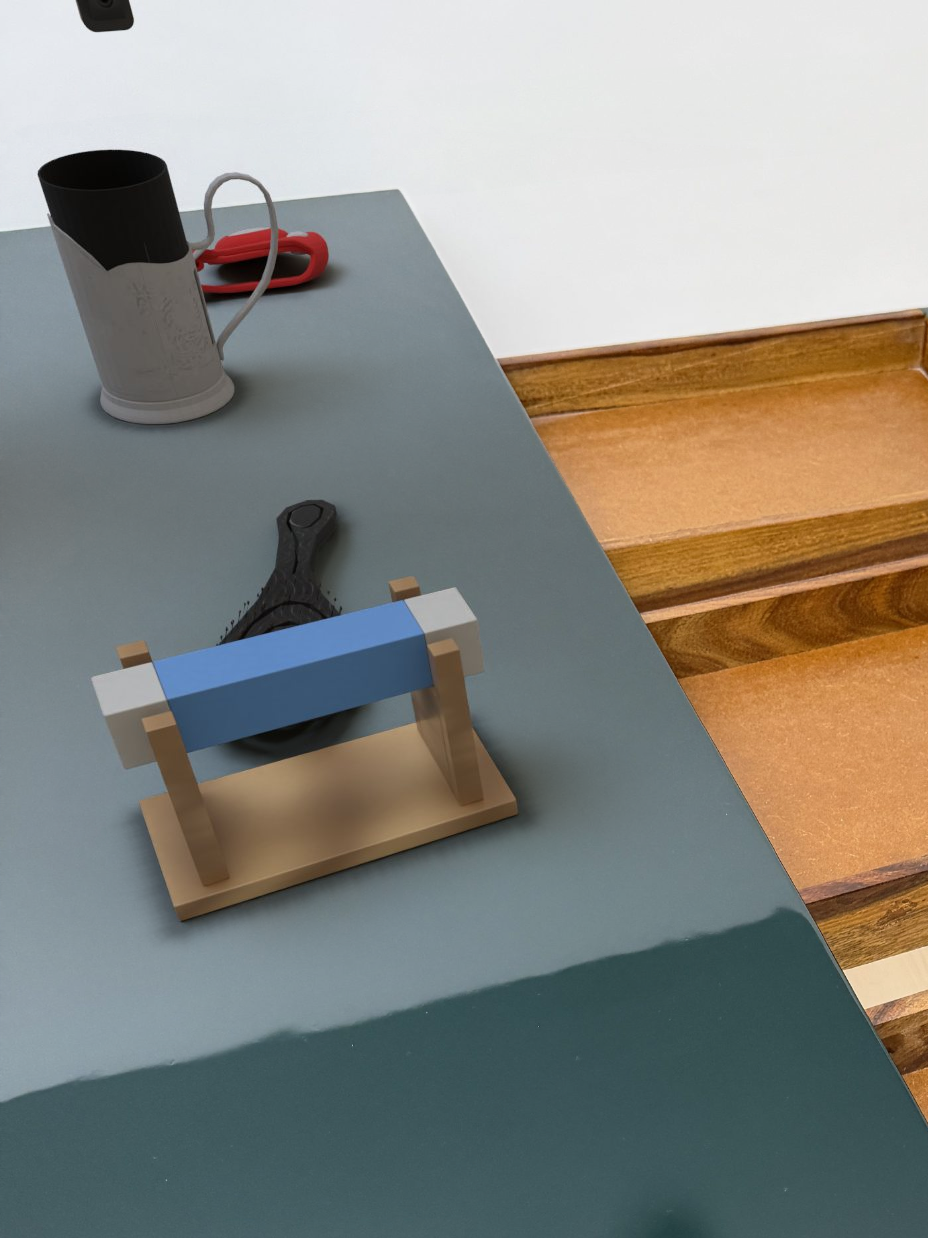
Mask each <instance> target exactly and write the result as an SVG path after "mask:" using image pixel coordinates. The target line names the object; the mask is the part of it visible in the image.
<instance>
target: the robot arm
mask: <svg viewBox="0 0 928 1238" xmlns="http://www.w3.org/2000/svg"><path fill="white" fill-rule="evenodd" d="M75 3H76V7H77V10H78V14H79V18H80V20H81V22H82V23H83V25H84V26H85V28H86V29H87V30H89V31H90V32H92V33H106V32H107V33H108V32H121V31H129V30H130V29H131V28H132V27H133V26H134V24H135V17H134V13H133V10H132V6H131V2H130V0H75Z"/></svg>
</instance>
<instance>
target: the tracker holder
mask: <svg viewBox="0 0 928 1238" xmlns="http://www.w3.org/2000/svg"><path fill="white" fill-rule="evenodd" d="M209 247H210V246H208V247H206V248H204V249H201V250H195V251H192V252H193V256H194V260H195V264H196V268H197V272H198V273H199V272H201V271H203V270H204V268H205V264H208V265H209V266H219V265H226V264H231V263H238V262H241V261H242V262H243V261H249V260H252V259H257V258H262V257H269V252H270V247H271V227H262V226H261V227H253V228H247V229H242V230H239V231H236V232H233V233H231V234H229V235H225V236H223V237H221V238H220V239H219V240H218V241H217V242H216V243H215V245H214V248H212V249H208V248H209ZM283 253H291V254H293V255H296V256H305V255H307V256H309V259H310V260H309V264H308V266H307V269H305V271H304V272H303V273H302V274H301V275H300V274H299V275H293V276H292V275H291V276H285V277H276V278H271V279H270V283H269V285H268V286H267V288H266V289H265V290H268V289H275V288H284V287H292V286H297V285H300V284H304V283H307V282H309V281H310V282H311V281H312V280H314V279H316V278H318V277H320V275H322V274H323V273H324V271H325V269H326V268H327V265H328V262H329V258H330V255H329V247H328V243H327V241H326V240H325V238H324V237H323V236H322V235H321V234H319V233H318V232H315V231H302V230H301V231H300V230H299V231H298V230H297V231H296V230H295V231H292V232H287V231H286V230H284V229H281V228H279V227H278V251H277V255H278V254H283ZM260 281H261V279H260V280H252V281H244V282H236V283H235V282H234V283H228V284H220V285H212V284H211V285H210V284H209V285H208V284H201V287H202V291H203V293H214V294H233V293H234V294H236V293H243V292H250V291H251V292H252V291H253V292H254V291H255V289H256V287H257V286H258V284H259V282H260Z"/></svg>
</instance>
